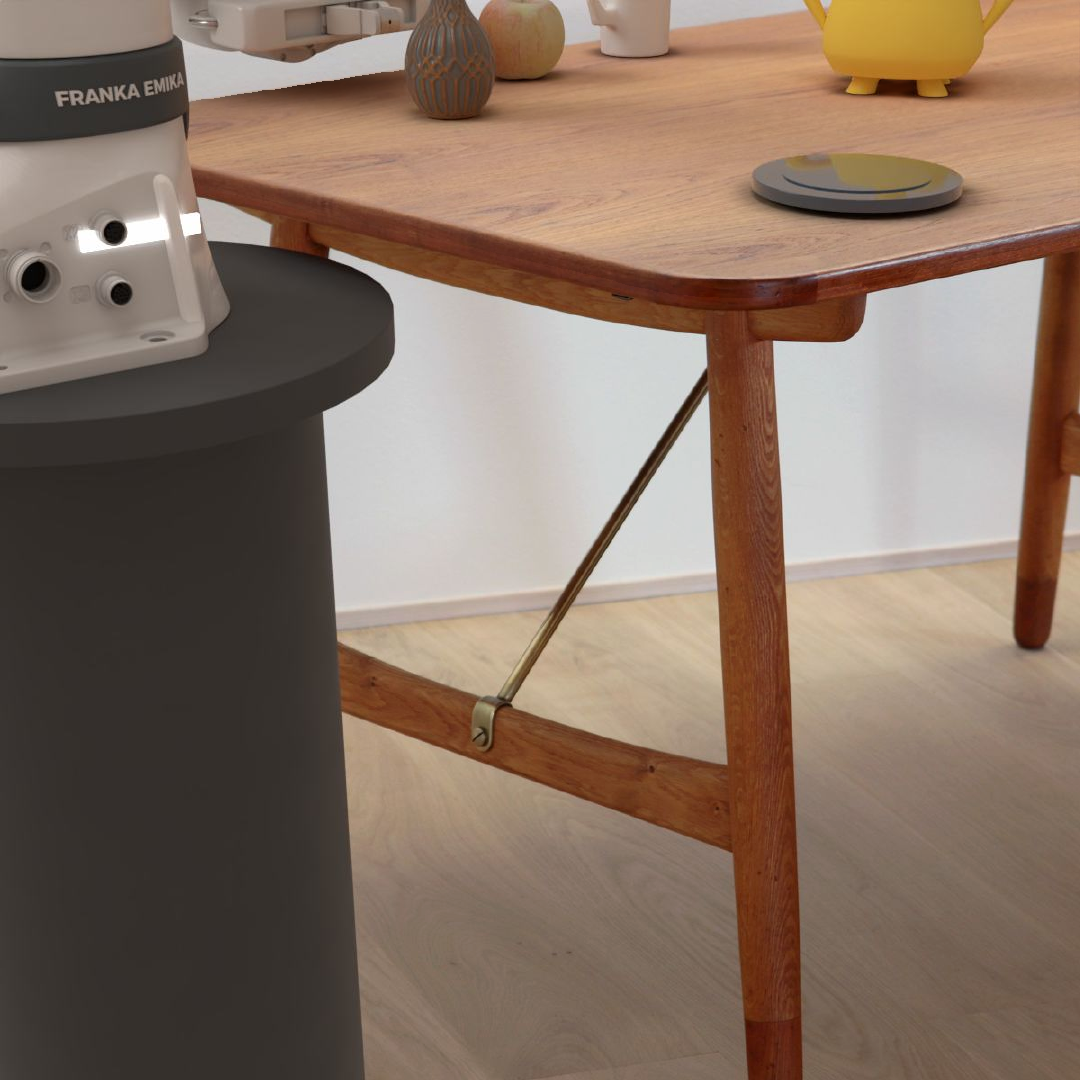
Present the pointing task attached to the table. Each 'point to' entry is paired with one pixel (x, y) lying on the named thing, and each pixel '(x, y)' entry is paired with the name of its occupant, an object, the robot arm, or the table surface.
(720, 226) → the table surface
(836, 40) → the teapot
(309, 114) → the table surface
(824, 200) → the plate
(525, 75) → the fruit
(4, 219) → the robot arm
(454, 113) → the vase
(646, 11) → the mug
